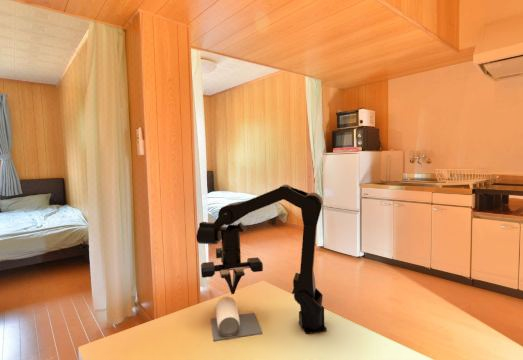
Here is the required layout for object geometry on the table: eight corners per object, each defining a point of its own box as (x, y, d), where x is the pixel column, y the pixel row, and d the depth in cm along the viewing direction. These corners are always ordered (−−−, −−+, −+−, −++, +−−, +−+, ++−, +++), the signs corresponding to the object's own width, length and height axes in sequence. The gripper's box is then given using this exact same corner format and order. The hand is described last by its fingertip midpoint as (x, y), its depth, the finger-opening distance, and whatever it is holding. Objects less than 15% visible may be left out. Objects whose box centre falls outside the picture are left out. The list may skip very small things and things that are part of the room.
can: (239, 310, 99) (243, 331, 88) (220, 318, 98) (222, 341, 87) (231, 292, 98) (235, 312, 87) (212, 301, 97) (214, 322, 86)
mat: (254, 313, 100) (254, 312, 100) (262, 333, 88) (262, 332, 88) (210, 319, 97) (210, 318, 97) (213, 341, 85) (213, 340, 85)
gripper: (255, 236, 105) (256, 280, 106) (199, 240, 101) (201, 286, 102) (262, 244, 94) (263, 294, 96) (200, 250, 90) (202, 301, 92)
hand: (232, 293), depth 97 cm, fingers closed
